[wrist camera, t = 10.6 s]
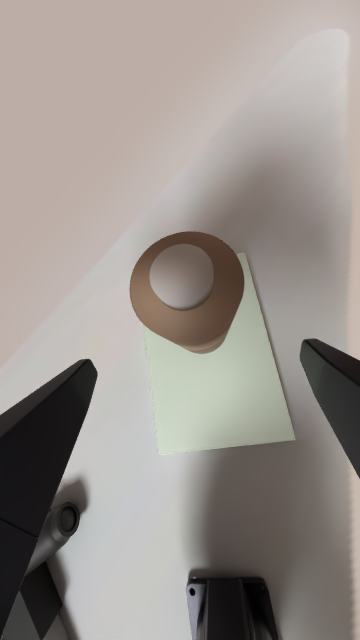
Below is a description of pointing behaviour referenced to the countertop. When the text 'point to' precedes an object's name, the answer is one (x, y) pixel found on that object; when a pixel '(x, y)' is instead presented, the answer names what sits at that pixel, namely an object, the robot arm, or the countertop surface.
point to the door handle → (42, 583)
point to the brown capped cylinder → (188, 290)
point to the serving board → (219, 387)
